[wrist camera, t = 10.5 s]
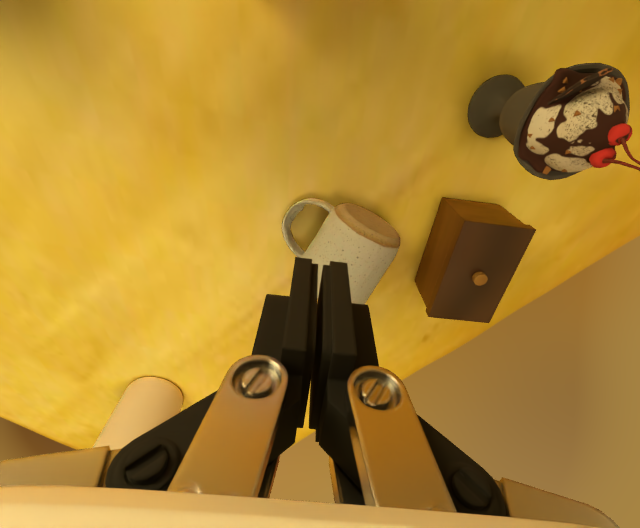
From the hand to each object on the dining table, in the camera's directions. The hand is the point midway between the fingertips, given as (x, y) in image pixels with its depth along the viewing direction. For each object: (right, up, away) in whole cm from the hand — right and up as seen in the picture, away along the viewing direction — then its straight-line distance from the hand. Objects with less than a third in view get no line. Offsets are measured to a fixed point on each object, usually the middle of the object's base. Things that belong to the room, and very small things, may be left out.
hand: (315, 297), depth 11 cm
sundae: (+15, +15, +18) cm, 28 cm away
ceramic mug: (+2, +4, +24) cm, 25 cm away
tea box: (+14, +3, +25) cm, 29 cm away
